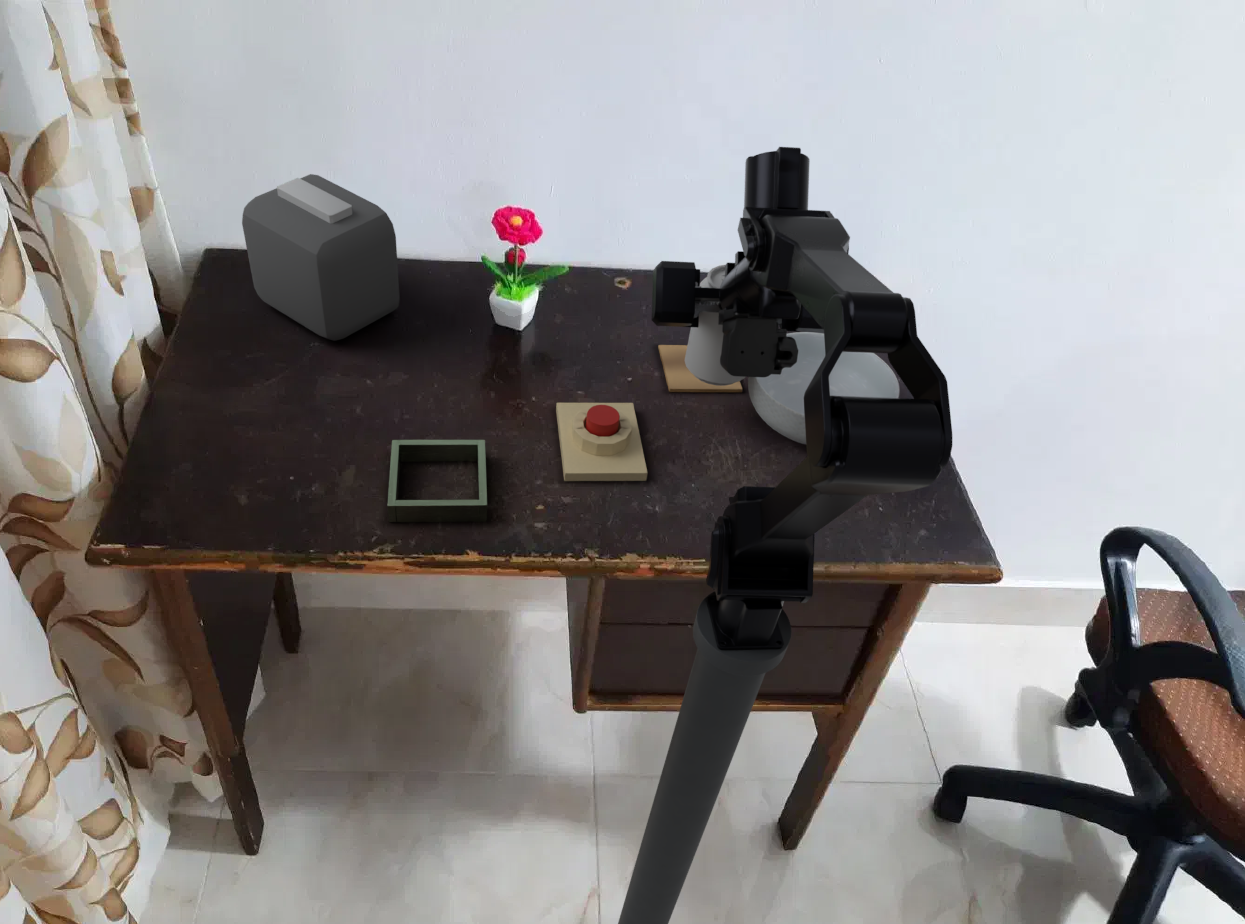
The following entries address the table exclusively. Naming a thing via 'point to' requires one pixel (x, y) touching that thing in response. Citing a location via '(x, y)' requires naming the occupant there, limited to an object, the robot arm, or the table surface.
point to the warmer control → (600, 446)
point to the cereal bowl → (785, 392)
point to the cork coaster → (686, 373)
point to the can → (708, 341)
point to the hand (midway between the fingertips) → (724, 314)
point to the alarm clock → (322, 256)
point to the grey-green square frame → (437, 508)
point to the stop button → (602, 420)
